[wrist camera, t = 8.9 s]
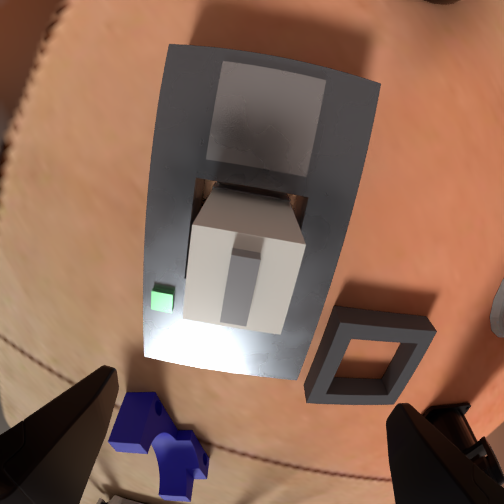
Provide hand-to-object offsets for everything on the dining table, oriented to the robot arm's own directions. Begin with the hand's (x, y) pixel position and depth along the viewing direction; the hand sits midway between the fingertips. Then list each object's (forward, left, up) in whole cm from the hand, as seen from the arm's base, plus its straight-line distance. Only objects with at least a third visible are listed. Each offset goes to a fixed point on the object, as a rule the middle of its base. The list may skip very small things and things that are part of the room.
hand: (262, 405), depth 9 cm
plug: (+1, -2, -12) cm, 12 cm away
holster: (-10, +7, -12) cm, 17 cm away
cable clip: (+5, +21, -13) cm, 25 cm away
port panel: (+1, -2, -12) cm, 12 cm away
